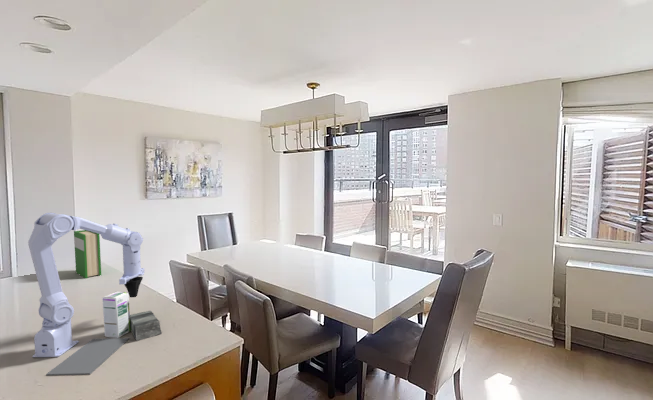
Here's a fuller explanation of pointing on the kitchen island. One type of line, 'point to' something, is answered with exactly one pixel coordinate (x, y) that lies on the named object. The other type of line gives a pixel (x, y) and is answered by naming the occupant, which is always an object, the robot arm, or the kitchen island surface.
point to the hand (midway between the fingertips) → (133, 296)
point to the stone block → (144, 325)
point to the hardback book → (87, 253)
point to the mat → (88, 357)
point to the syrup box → (116, 314)
